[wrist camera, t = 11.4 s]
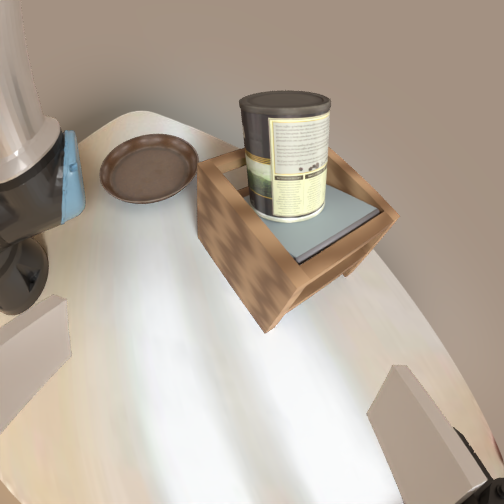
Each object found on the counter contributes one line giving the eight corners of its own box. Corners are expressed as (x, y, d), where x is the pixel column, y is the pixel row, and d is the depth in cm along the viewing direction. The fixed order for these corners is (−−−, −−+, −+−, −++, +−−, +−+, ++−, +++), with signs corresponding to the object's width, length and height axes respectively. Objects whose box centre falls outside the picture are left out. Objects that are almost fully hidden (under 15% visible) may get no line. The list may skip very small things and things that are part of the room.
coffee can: (235, 214, 36) (221, 106, 27) (267, 178, 43) (261, 89, 33) (314, 231, 32) (319, 111, 23) (333, 190, 39) (338, 94, 29)
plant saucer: (218, 168, 58) (219, 156, 55) (148, 231, 47) (145, 219, 44) (152, 134, 61) (151, 123, 59) (85, 183, 51) (81, 172, 48)
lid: (224, 212, 39) (223, 205, 39) (302, 179, 45) (302, 174, 45) (299, 267, 29) (299, 260, 29) (378, 216, 35) (380, 209, 35)
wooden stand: (197, 237, 48) (197, 163, 34) (285, 197, 56) (308, 130, 42) (265, 333, 41) (296, 288, 27) (351, 272, 48) (400, 216, 35)
